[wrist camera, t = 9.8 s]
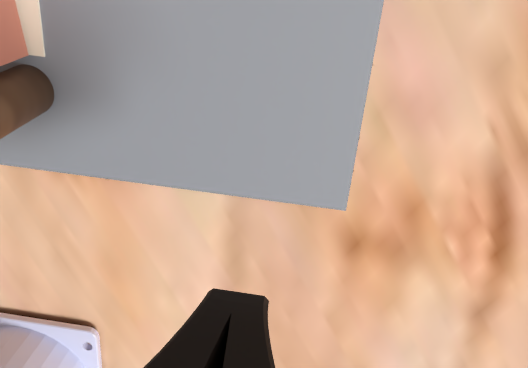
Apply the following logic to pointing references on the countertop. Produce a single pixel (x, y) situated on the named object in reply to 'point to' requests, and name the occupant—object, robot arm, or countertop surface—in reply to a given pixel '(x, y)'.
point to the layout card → (201, 93)
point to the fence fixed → (23, 96)
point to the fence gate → (11, 33)
